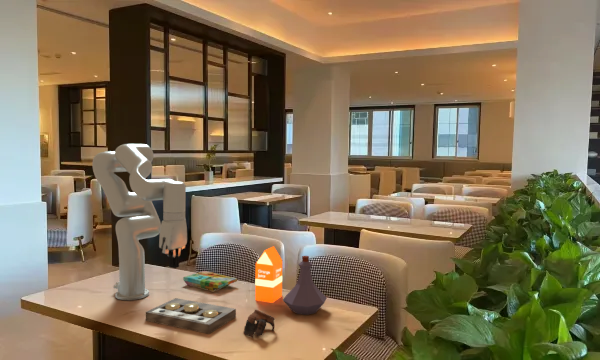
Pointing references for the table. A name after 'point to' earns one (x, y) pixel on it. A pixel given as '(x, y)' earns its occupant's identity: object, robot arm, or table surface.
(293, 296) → the flask
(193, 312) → the button middle
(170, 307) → the button
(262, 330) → the brown goggles
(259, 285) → the orange juice
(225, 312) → the button board
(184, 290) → the table surface
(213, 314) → the button
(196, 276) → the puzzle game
